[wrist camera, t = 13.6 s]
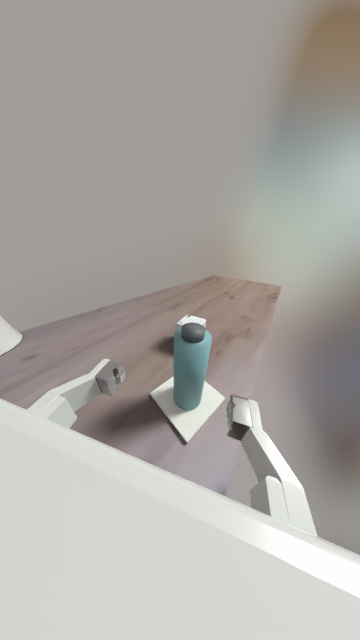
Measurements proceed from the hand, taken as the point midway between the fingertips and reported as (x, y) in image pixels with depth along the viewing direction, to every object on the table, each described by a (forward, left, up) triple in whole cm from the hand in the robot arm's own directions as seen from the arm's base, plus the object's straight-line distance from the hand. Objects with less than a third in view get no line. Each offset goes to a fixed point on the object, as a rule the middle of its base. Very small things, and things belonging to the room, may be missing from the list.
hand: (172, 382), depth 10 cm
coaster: (+8, +5, -17) cm, 20 cm away
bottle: (+8, +5, -17) cm, 19 cm away
